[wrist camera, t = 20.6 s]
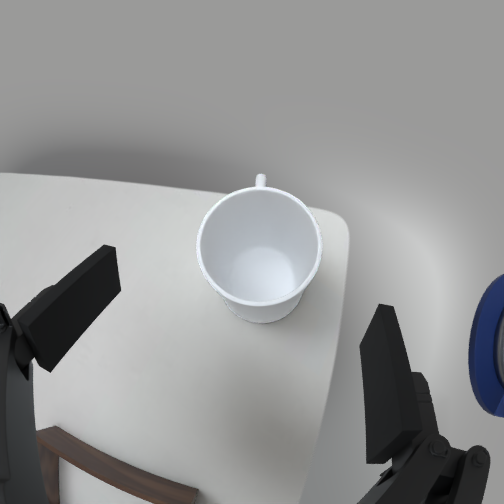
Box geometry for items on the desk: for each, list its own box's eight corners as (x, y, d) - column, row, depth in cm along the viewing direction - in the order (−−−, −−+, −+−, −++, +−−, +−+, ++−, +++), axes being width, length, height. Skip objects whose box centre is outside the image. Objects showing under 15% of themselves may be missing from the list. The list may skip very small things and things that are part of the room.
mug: (230, 210, 32) (213, 142, 21) (308, 217, 32) (328, 152, 20) (214, 317, 29) (181, 301, 18) (299, 327, 28) (322, 317, 17)
